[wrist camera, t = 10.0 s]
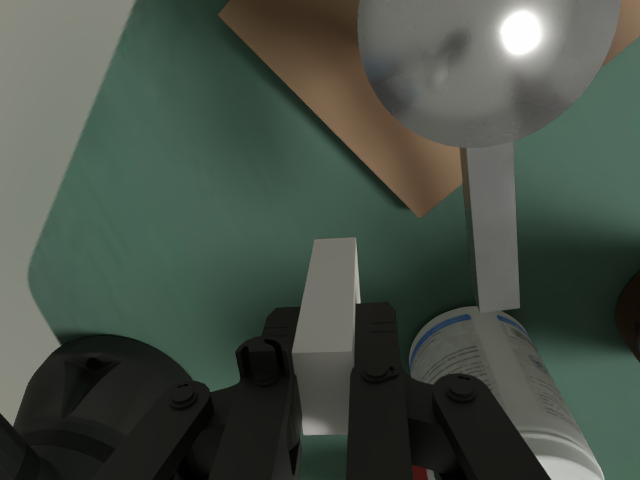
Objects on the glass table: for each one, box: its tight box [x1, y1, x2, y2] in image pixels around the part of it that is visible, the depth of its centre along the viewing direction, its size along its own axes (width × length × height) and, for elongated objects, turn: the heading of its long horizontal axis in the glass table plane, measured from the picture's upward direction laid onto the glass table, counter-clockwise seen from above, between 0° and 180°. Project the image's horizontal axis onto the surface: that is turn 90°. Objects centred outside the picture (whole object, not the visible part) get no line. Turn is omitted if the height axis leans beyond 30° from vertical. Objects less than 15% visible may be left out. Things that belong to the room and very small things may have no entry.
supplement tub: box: [409, 306, 604, 480], centre depth 34 cm, size 10×10×15 cm
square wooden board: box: [218, 0, 640, 218], centre depth 26 cm, size 18×18×10 cm
